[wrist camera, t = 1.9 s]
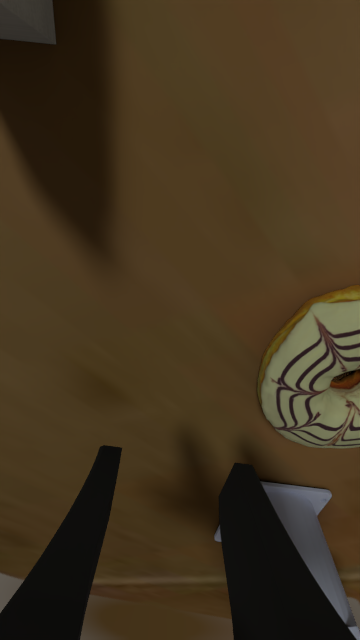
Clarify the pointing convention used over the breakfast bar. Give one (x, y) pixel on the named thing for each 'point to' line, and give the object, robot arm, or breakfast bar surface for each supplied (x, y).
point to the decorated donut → (315, 373)
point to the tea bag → (27, 21)
